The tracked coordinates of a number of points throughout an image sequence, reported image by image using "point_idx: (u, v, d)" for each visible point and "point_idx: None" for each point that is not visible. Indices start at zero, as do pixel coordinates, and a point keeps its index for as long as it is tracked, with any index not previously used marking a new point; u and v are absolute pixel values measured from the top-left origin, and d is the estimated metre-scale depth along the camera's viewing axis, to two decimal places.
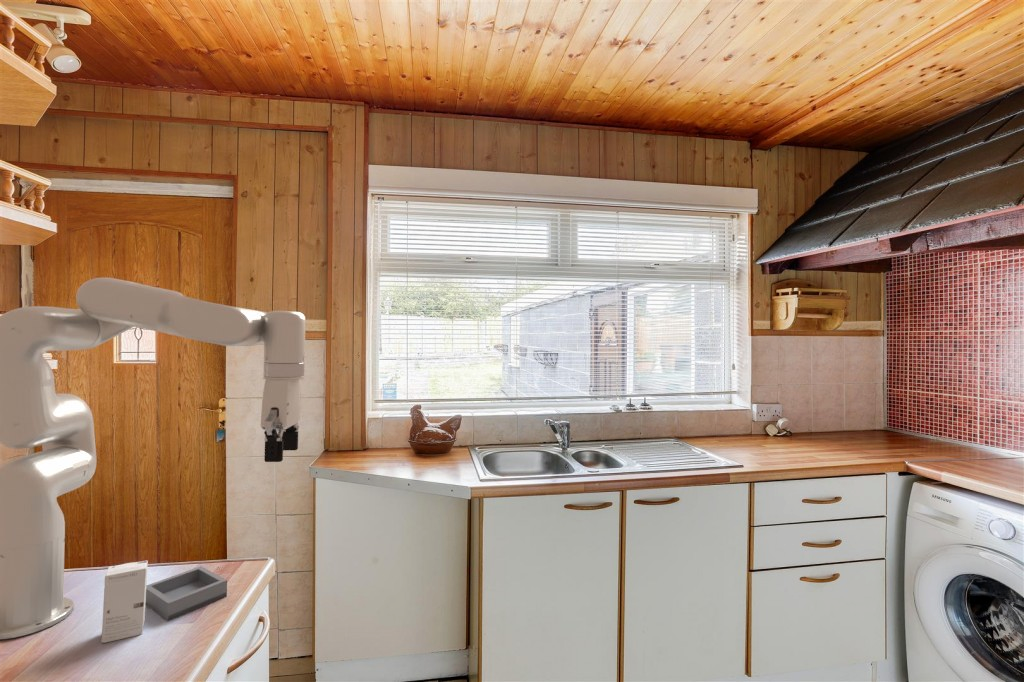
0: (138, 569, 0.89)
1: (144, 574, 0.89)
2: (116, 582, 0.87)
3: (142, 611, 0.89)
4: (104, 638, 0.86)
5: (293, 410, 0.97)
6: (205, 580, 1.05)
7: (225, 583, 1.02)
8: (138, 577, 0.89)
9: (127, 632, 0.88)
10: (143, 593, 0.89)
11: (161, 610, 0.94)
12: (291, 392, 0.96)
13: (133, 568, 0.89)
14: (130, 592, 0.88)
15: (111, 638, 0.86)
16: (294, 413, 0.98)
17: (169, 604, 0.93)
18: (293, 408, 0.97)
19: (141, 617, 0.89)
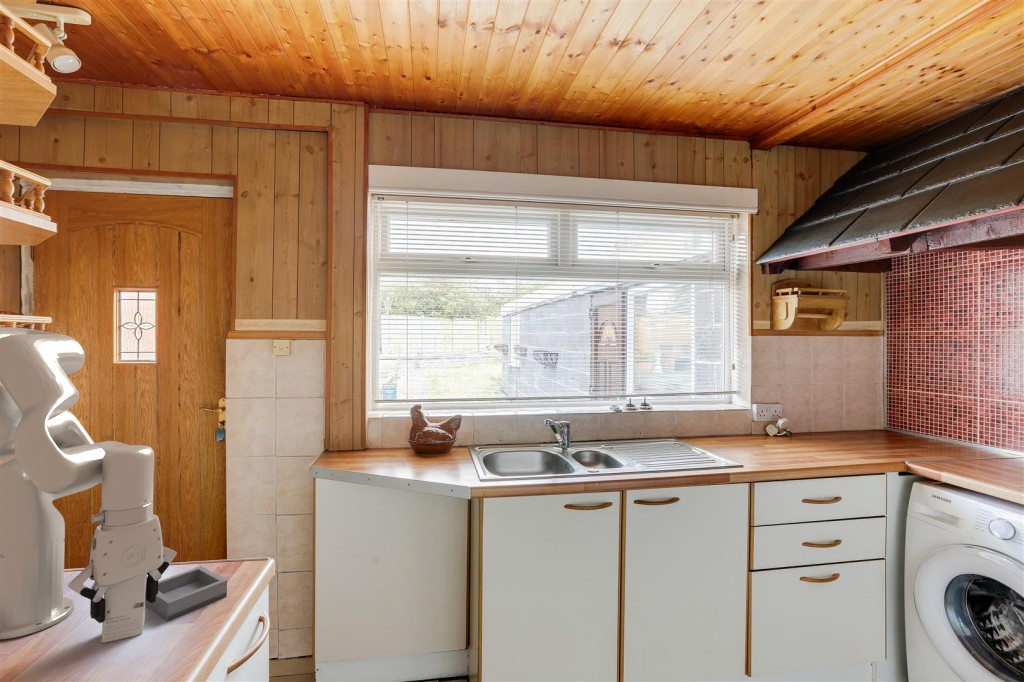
0: None
1: (144, 574, 0.89)
2: None
3: (142, 611, 0.89)
4: (105, 638, 0.86)
5: None
6: (205, 580, 1.05)
7: (225, 583, 1.02)
8: (139, 577, 0.89)
9: (127, 632, 0.88)
10: (143, 593, 0.89)
11: (161, 610, 0.94)
12: None
13: None
14: (130, 592, 0.88)
15: (111, 637, 0.86)
16: None
17: (169, 604, 0.93)
18: None
19: (141, 617, 0.89)
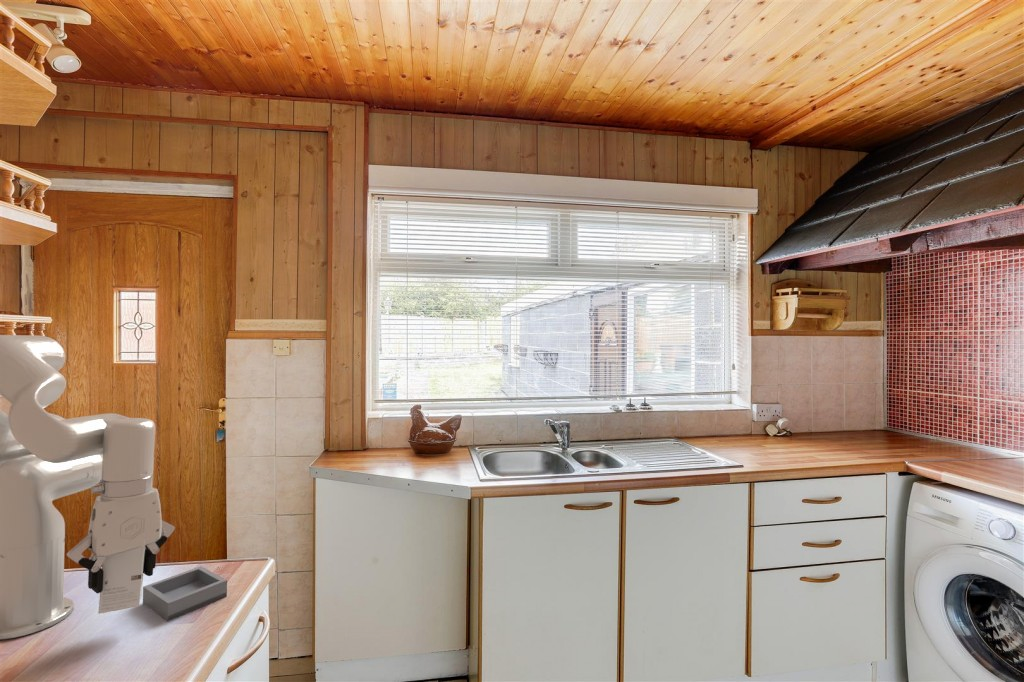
0: None
1: (142, 547, 0.89)
2: None
3: (140, 583, 0.89)
4: (102, 608, 0.86)
5: None
6: (205, 580, 1.05)
7: (225, 583, 1.02)
8: (137, 550, 0.89)
9: (124, 604, 0.88)
10: (141, 565, 0.89)
11: (161, 610, 0.94)
12: None
13: None
14: (128, 564, 0.88)
15: (108, 608, 0.86)
16: None
17: (169, 604, 0.93)
18: None
19: (138, 589, 0.89)
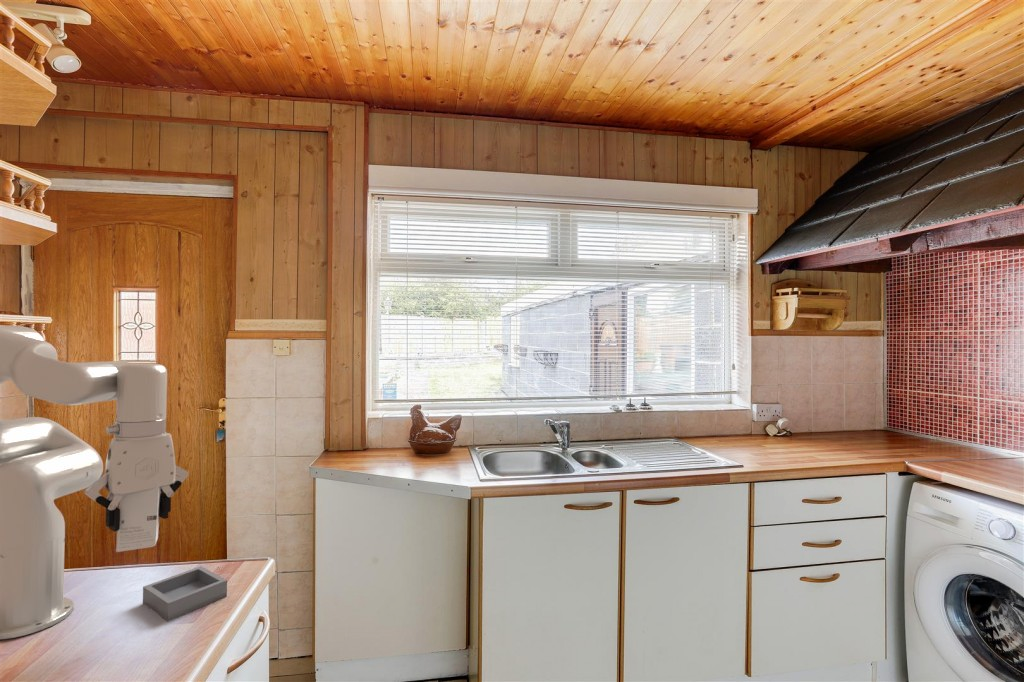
0: None
1: (157, 488, 0.91)
2: None
3: (155, 524, 0.91)
4: (119, 547, 0.88)
5: None
6: (205, 580, 1.05)
7: (225, 583, 1.02)
8: (152, 491, 0.91)
9: (140, 543, 0.89)
10: (156, 506, 0.91)
11: (161, 610, 0.94)
12: None
13: None
14: (144, 504, 0.90)
15: (125, 547, 0.88)
16: None
17: (169, 604, 0.93)
18: None
19: (154, 530, 0.91)
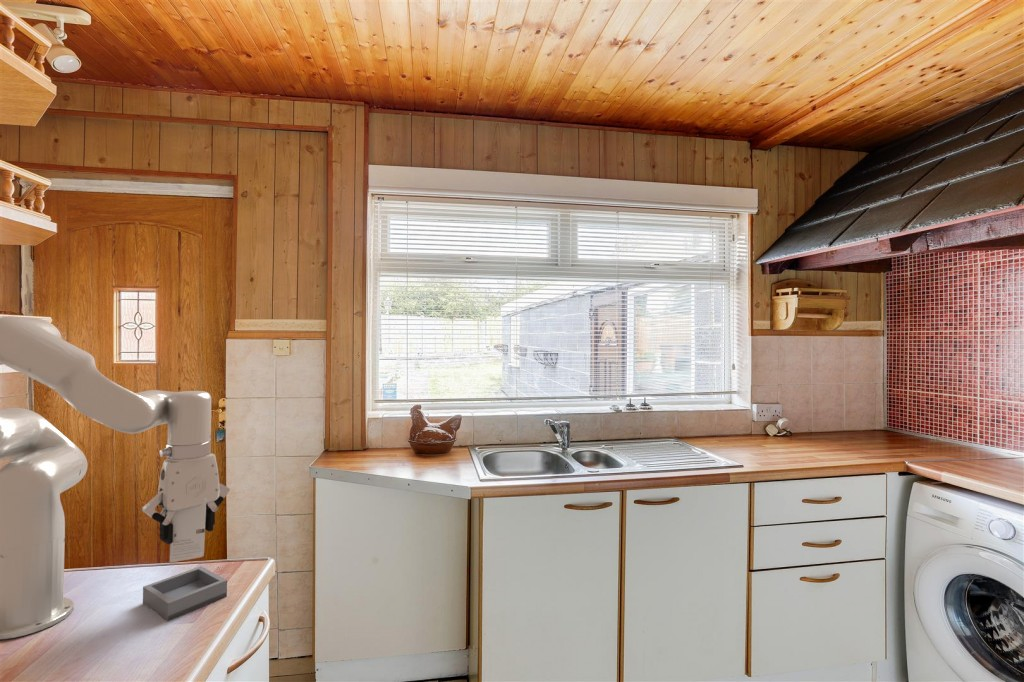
0: None
1: (205, 504, 1.00)
2: None
3: (203, 536, 1.00)
4: (172, 558, 0.97)
5: None
6: (205, 580, 1.05)
7: (225, 583, 1.02)
8: (200, 506, 1.00)
9: (191, 554, 0.99)
10: (204, 520, 1.00)
11: (161, 610, 0.94)
12: None
13: None
14: (193, 519, 0.99)
15: (178, 558, 0.98)
16: None
17: (169, 604, 0.93)
18: None
19: (202, 542, 1.00)
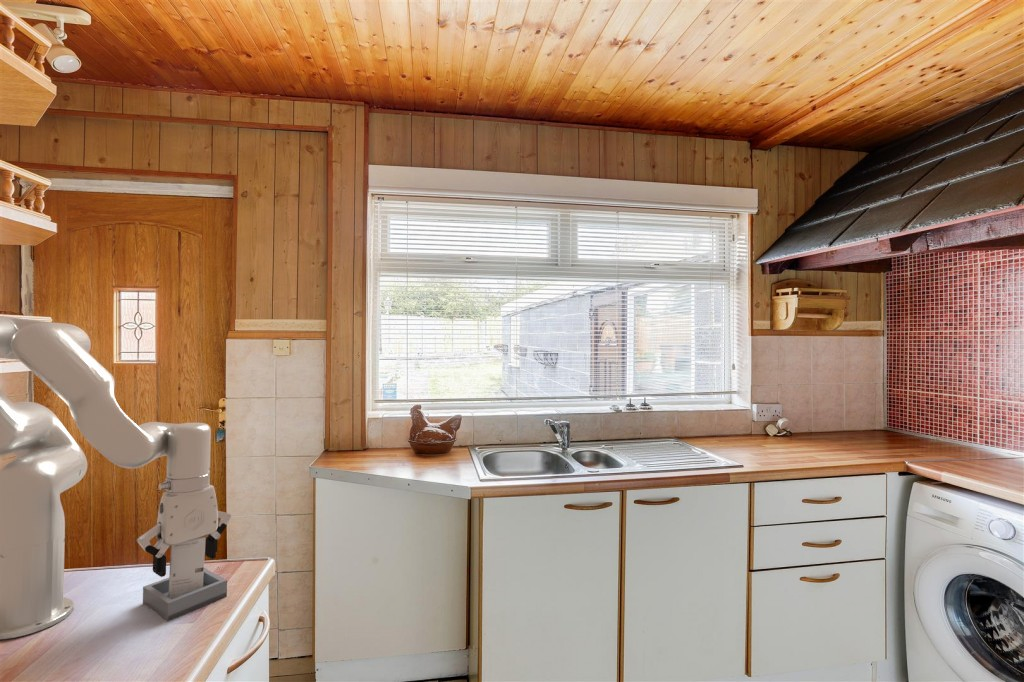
0: (199, 538, 1.00)
1: (204, 543, 1.01)
2: (180, 549, 0.98)
3: (202, 575, 1.00)
4: (171, 598, 0.97)
5: None
6: (205, 580, 1.05)
7: (225, 583, 1.02)
8: (199, 545, 1.00)
9: None
10: (203, 559, 1.01)
11: (161, 610, 0.94)
12: None
13: None
14: (192, 558, 1.00)
15: None
16: None
17: (169, 604, 0.93)
18: None
19: (201, 580, 1.00)
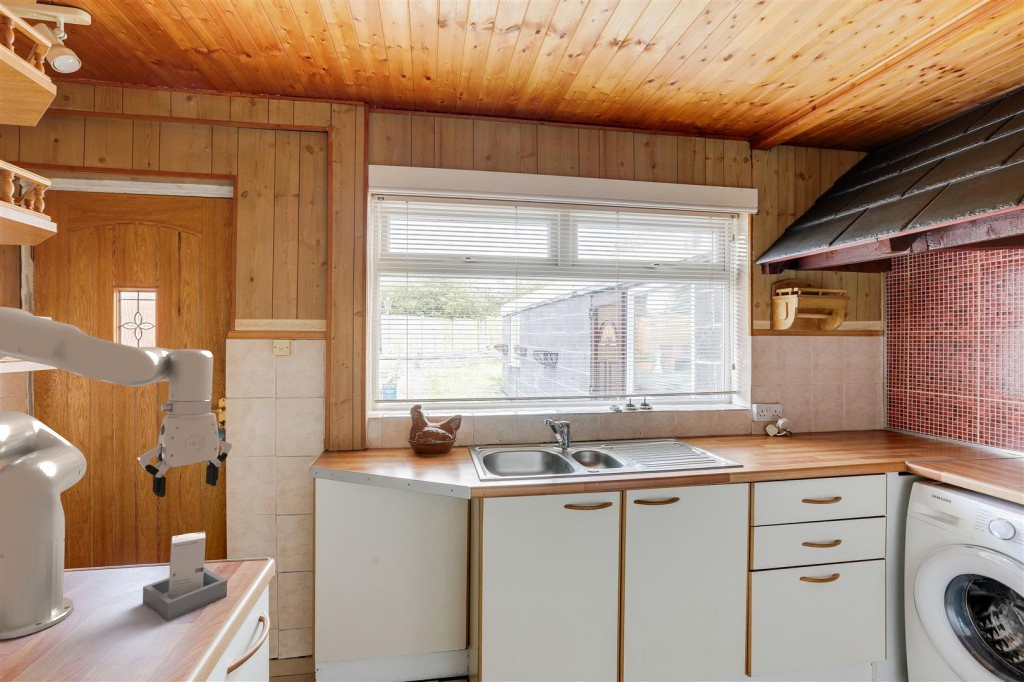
0: (199, 538, 1.00)
1: (204, 543, 1.01)
2: (180, 549, 0.98)
3: (202, 575, 1.00)
4: (171, 598, 0.97)
5: None
6: (205, 580, 1.05)
7: (225, 583, 1.02)
8: (199, 545, 1.00)
9: None
10: (203, 559, 1.01)
11: (161, 610, 0.94)
12: None
13: (195, 538, 1.00)
14: (192, 558, 1.00)
15: None
16: None
17: (169, 604, 0.93)
18: None
19: (201, 580, 1.00)
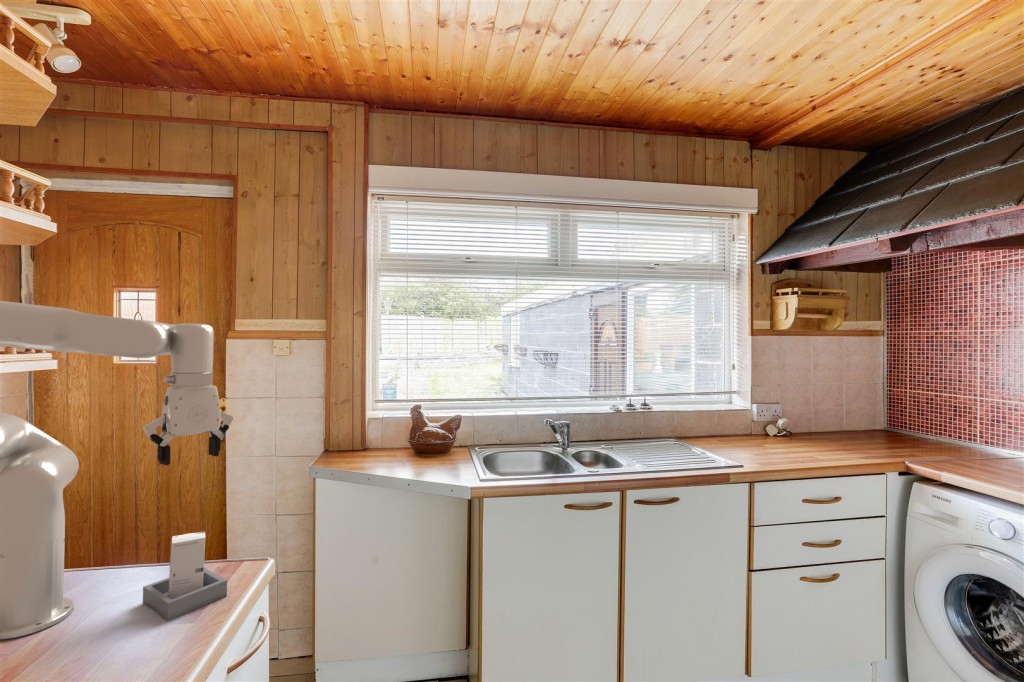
0: (199, 538, 1.00)
1: (204, 543, 1.01)
2: (180, 549, 0.98)
3: (202, 575, 1.00)
4: (171, 598, 0.97)
5: None
6: (205, 580, 1.05)
7: (225, 583, 1.02)
8: (199, 545, 1.00)
9: None
10: (203, 559, 1.01)
11: (161, 610, 0.94)
12: None
13: (194, 538, 1.00)
14: (192, 558, 1.00)
15: None
16: None
17: (169, 604, 0.93)
18: None
19: (201, 580, 1.00)
